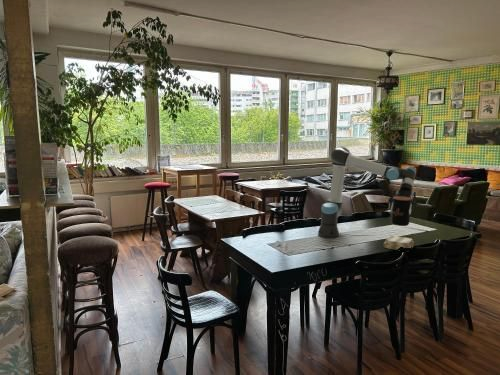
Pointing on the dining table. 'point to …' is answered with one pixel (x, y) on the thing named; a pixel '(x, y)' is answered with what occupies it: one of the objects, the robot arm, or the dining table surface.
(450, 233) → the dining table surface
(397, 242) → the cream lumpy slab
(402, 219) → the coffee jar
